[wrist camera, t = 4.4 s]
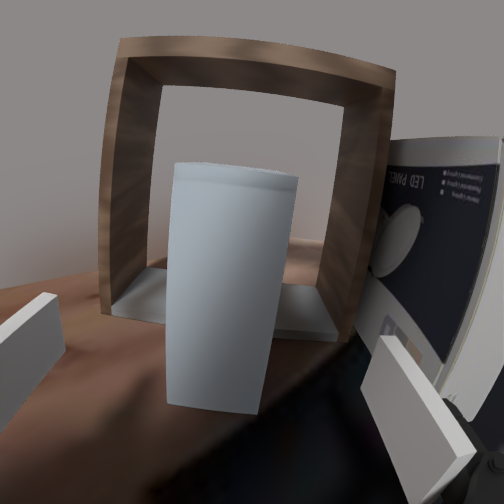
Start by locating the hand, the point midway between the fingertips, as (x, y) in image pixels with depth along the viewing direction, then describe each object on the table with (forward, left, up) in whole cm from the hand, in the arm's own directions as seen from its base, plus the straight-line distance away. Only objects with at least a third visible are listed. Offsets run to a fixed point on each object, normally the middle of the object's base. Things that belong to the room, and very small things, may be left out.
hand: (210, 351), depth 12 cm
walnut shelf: (0, -22, -8) cm, 23 cm away
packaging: (-17, -18, -9) cm, 27 cm away
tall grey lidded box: (0, -10, -8) cm, 13 cm away
